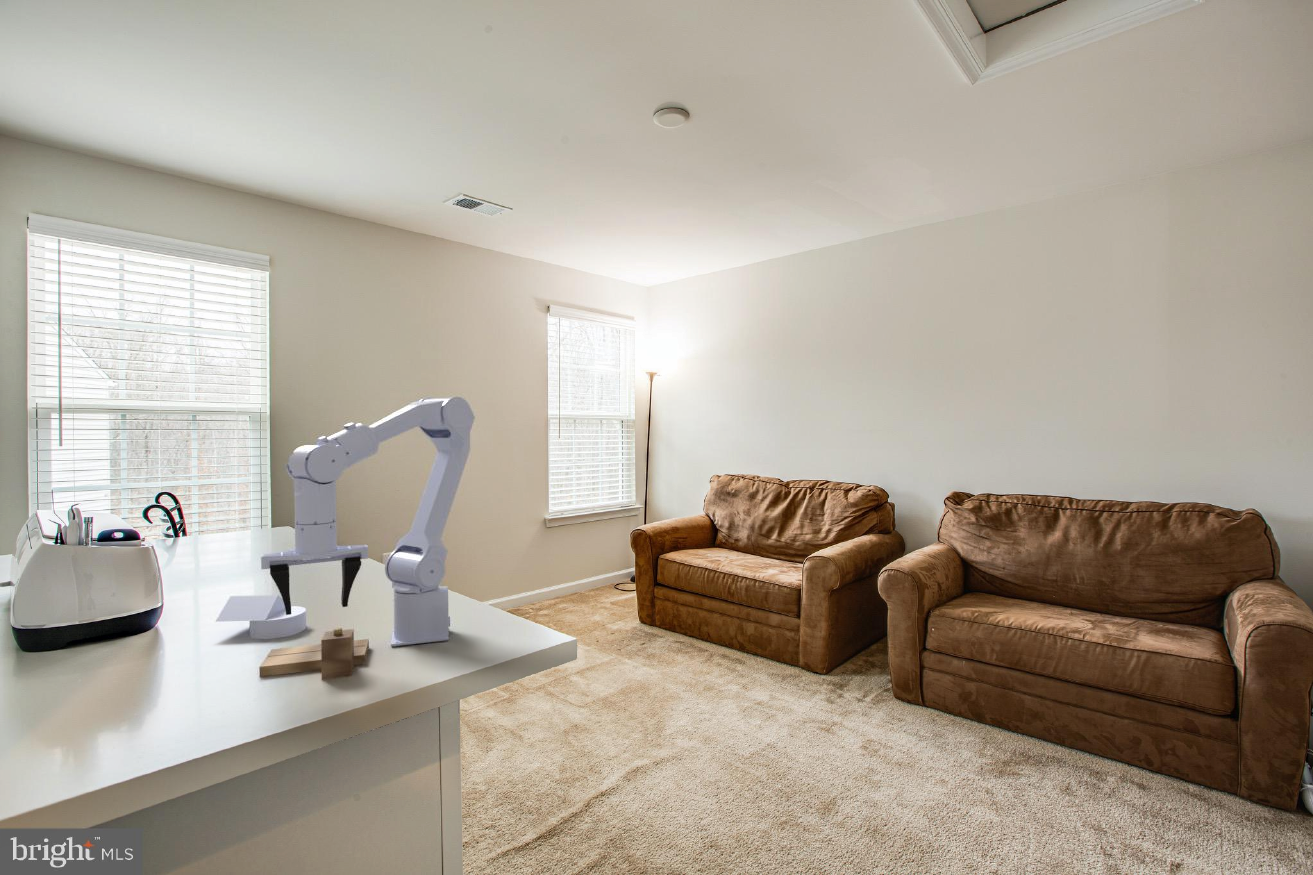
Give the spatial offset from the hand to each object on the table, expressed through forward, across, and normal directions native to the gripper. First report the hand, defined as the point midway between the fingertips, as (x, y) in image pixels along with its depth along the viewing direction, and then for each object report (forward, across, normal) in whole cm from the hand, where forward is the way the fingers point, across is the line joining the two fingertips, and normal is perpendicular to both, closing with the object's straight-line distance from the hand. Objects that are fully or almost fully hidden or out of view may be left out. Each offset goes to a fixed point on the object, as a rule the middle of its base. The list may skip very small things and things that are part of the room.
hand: (317, 609), depth 97 cm
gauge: (+9, -3, +1) cm, 10 cm away
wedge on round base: (+10, +7, -26) cm, 29 cm away
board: (+10, 0, -4) cm, 10 cm away
